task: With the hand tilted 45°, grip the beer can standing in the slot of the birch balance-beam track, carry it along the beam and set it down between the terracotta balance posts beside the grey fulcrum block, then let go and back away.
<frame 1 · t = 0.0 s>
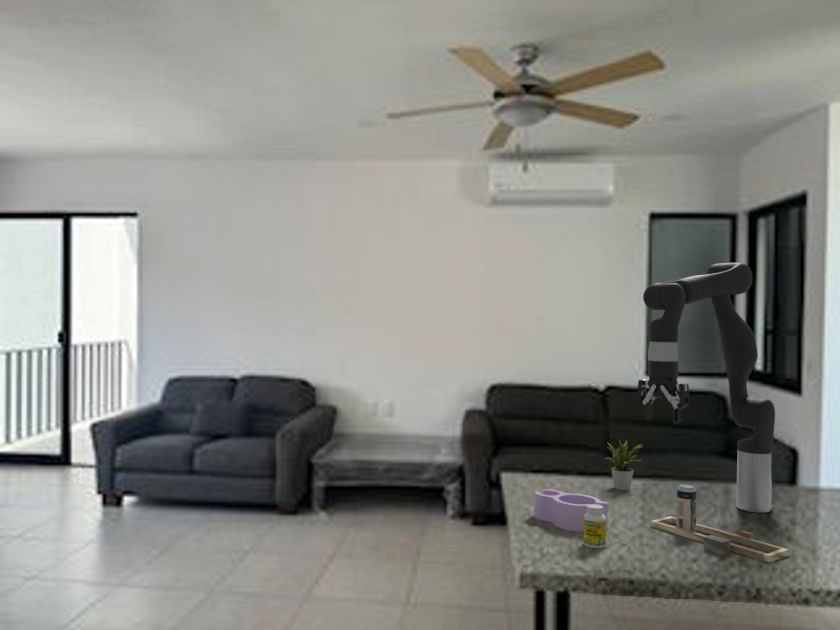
hand: (662, 420, 180), 29 cm above the counter, tool pointing down, fingers open, 8 cm apart
clip: (568, 523, 188), on the counter
house plant: (624, 489, 228), on the counter
supplement bottle: (594, 546, 169), on the counter
beam track: (715, 540, 175), on the counter
beer can: (685, 532, 182), resting in beam track
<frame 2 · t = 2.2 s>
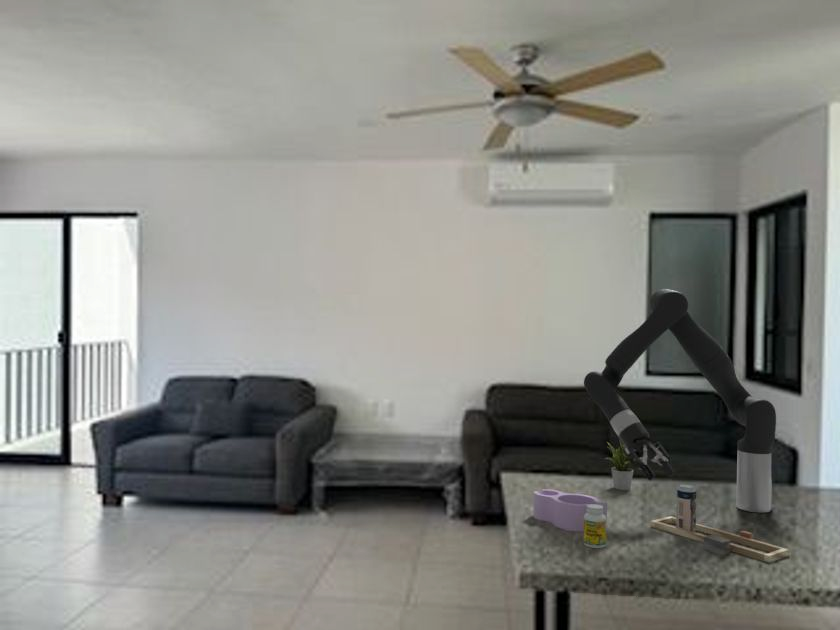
hand: (662, 477, 188), 13 cm above the counter, tool tilted 45°, fingers open, 8 cm apart
nothing on the counter moved.
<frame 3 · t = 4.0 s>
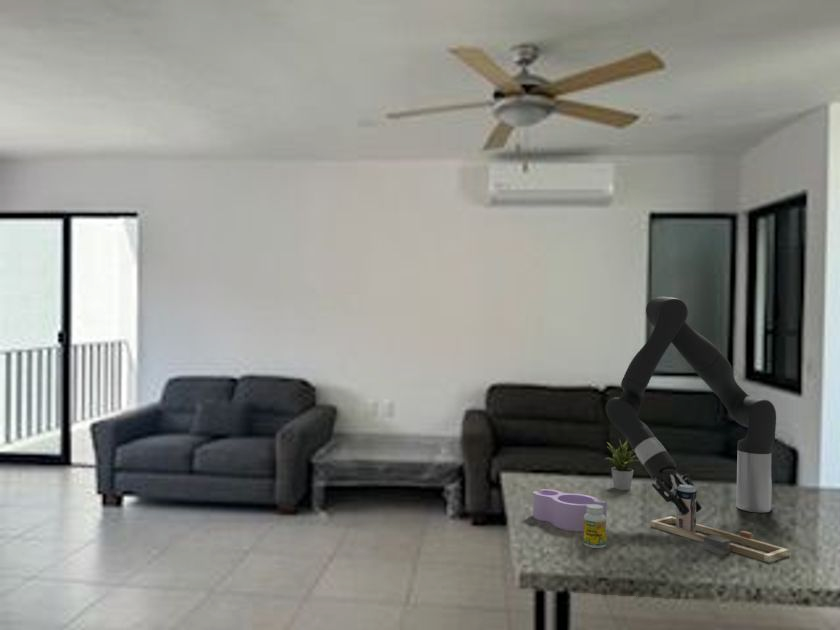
hand: (692, 511, 180), 6 cm above the counter, tool tilted 45°, fingers closed on beer can, 4 cm apart
beer can: (685, 532, 182), resting in beam track, touching gripper
everything else where it was.
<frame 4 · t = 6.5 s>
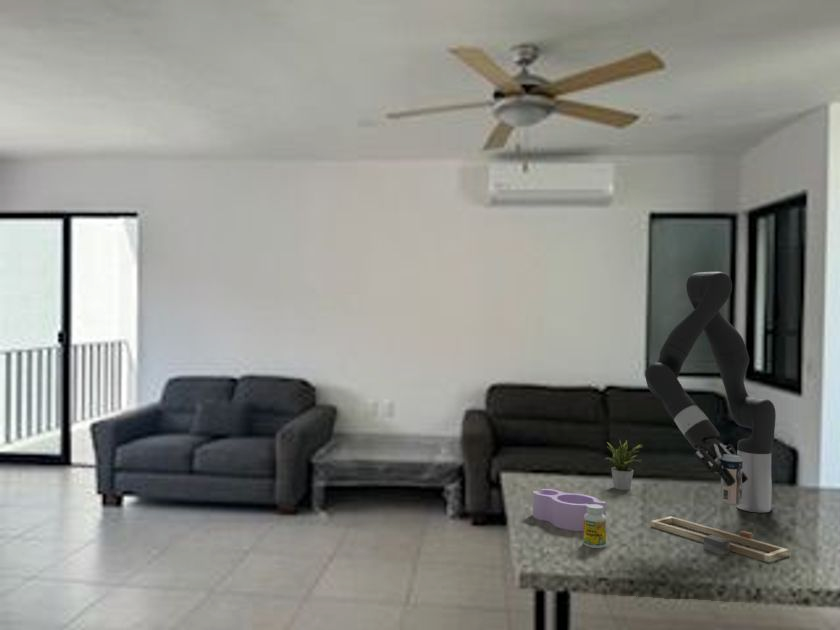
hand: (738, 482, 170), 16 cm above the counter, tool tilted 45°, fingers closed on beer can, 4 cm apart
beer can: (730, 504, 172), point 10 cm above the counter, touching gripper
everything else where it was.
when the fingers open (7 cm above the counter, at t = 8.8 s): beer can stays where it is, resting in beam track.
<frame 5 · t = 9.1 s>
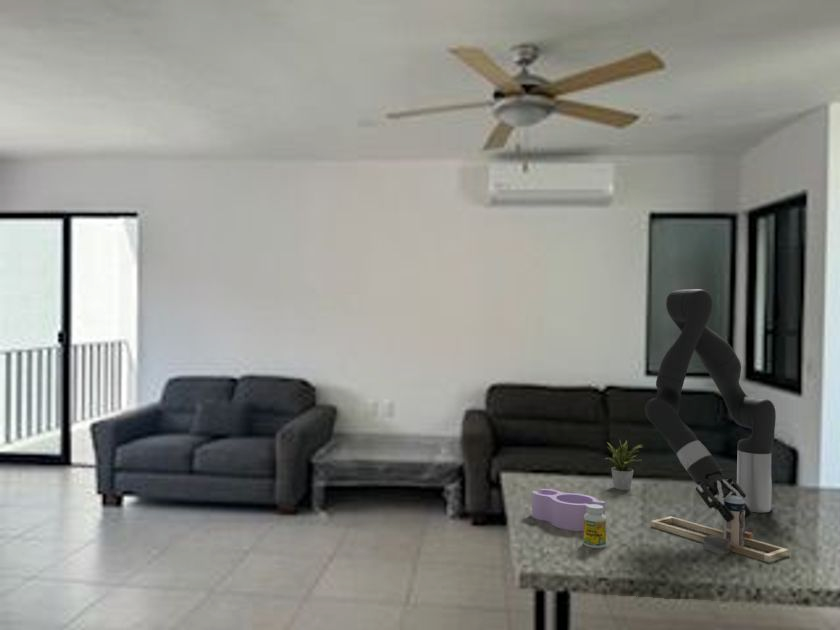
hand: (740, 518, 170), 7 cm above the counter, tool tilted 45°, fingers open, 7 cm apart
beer can: (733, 546, 171), resting in beam track
everything else where it was.
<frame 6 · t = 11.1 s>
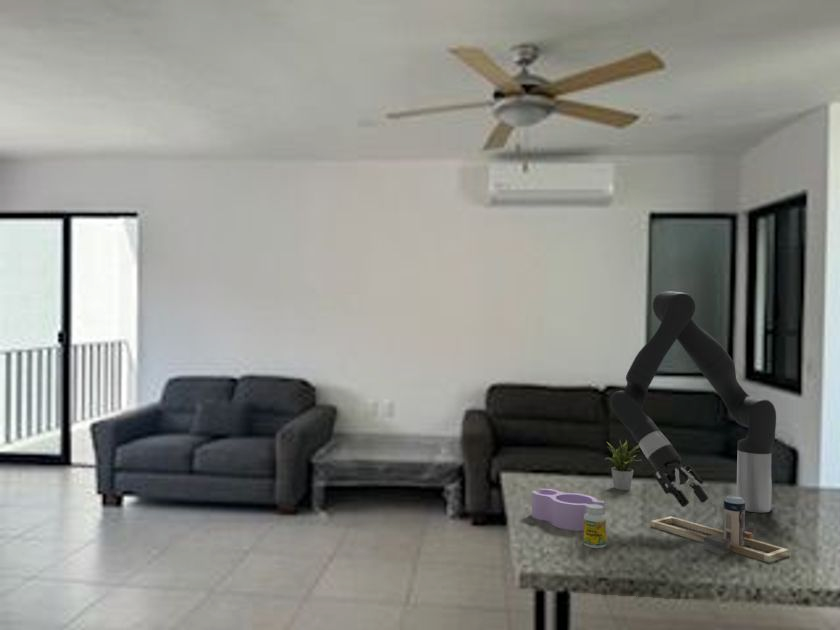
hand: (695, 502, 180), 8 cm above the counter, tool tilted 45°, fingers open, 8 cm apart
nothing on the counter moved.
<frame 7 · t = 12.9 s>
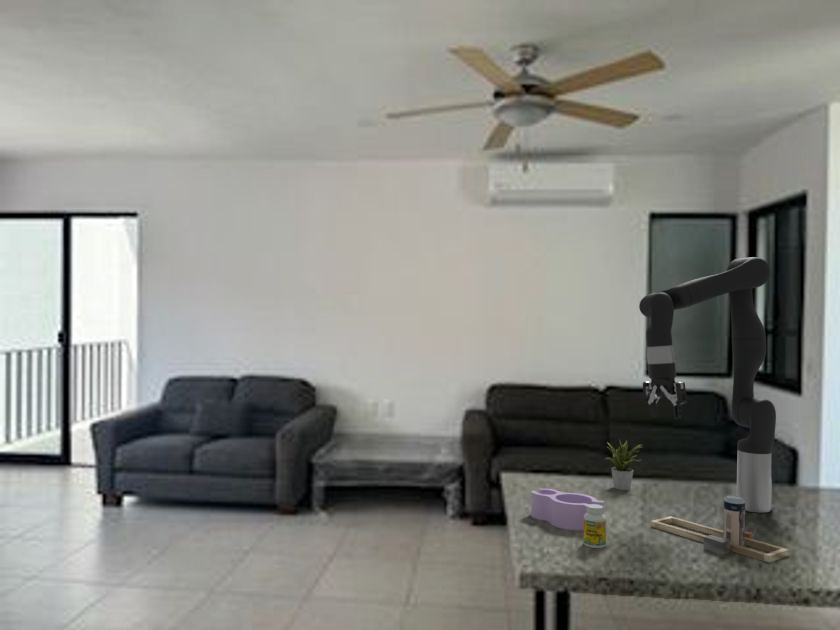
hand: (666, 417, 198), 28 cm above the counter, tool pointing down, fingers open, 8 cm apart
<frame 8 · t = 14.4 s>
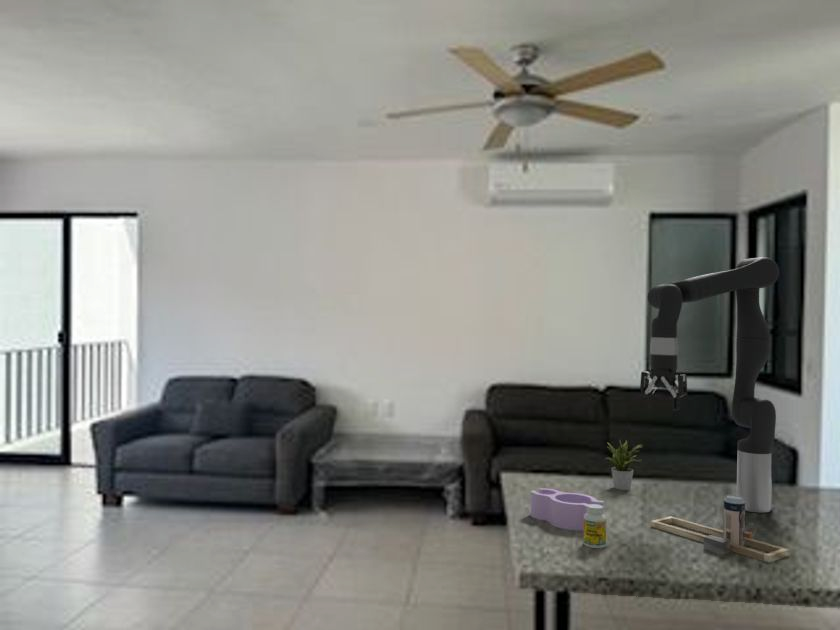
hand: (662, 408, 200), 30 cm above the counter, tool pointing down, fingers open, 8 cm apart
at the end: beer can inside the target area (0.2 cm from its centre), resting in beam track; beer can tilted 0°; the gripper is holding nothing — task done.
